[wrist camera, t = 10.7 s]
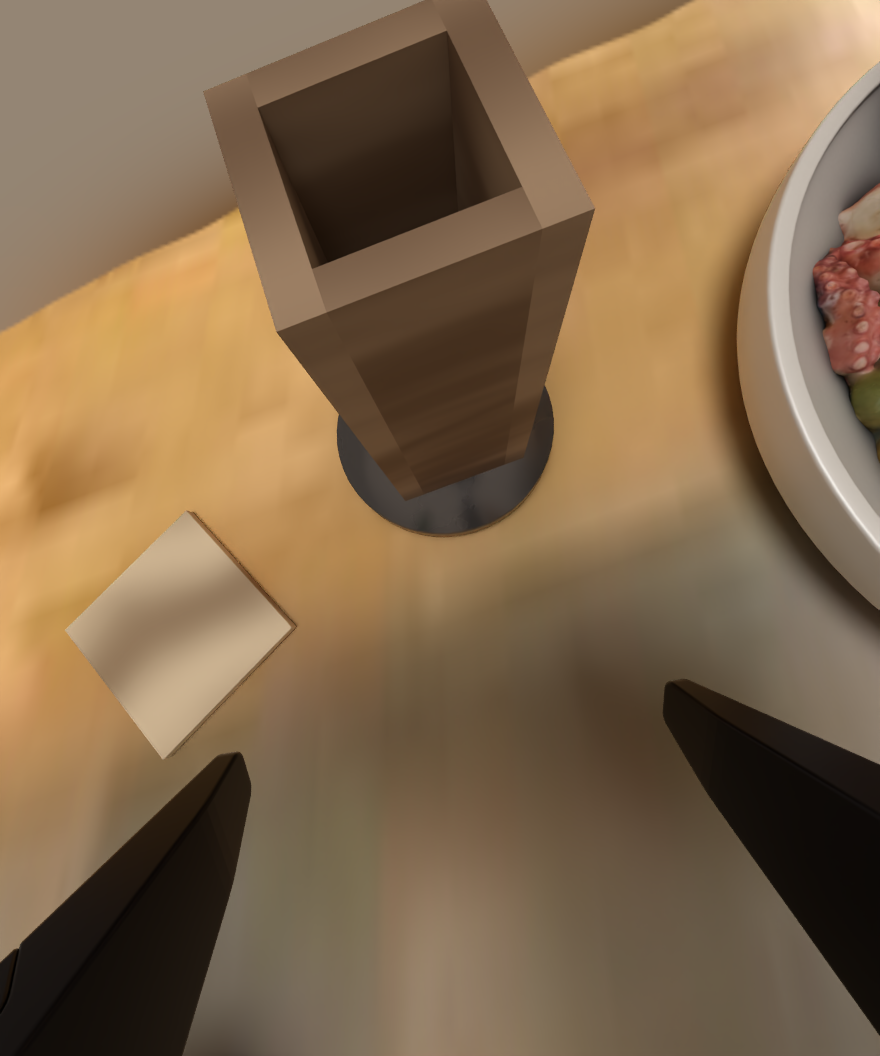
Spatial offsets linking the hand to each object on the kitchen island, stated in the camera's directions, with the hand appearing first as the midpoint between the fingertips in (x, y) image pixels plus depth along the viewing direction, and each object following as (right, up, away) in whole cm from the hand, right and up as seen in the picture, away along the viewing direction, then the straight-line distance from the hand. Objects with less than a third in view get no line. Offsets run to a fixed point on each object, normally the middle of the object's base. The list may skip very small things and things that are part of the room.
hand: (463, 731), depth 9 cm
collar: (0, +9, +10) cm, 14 cm away
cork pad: (-13, -1, +11) cm, 17 cm away
